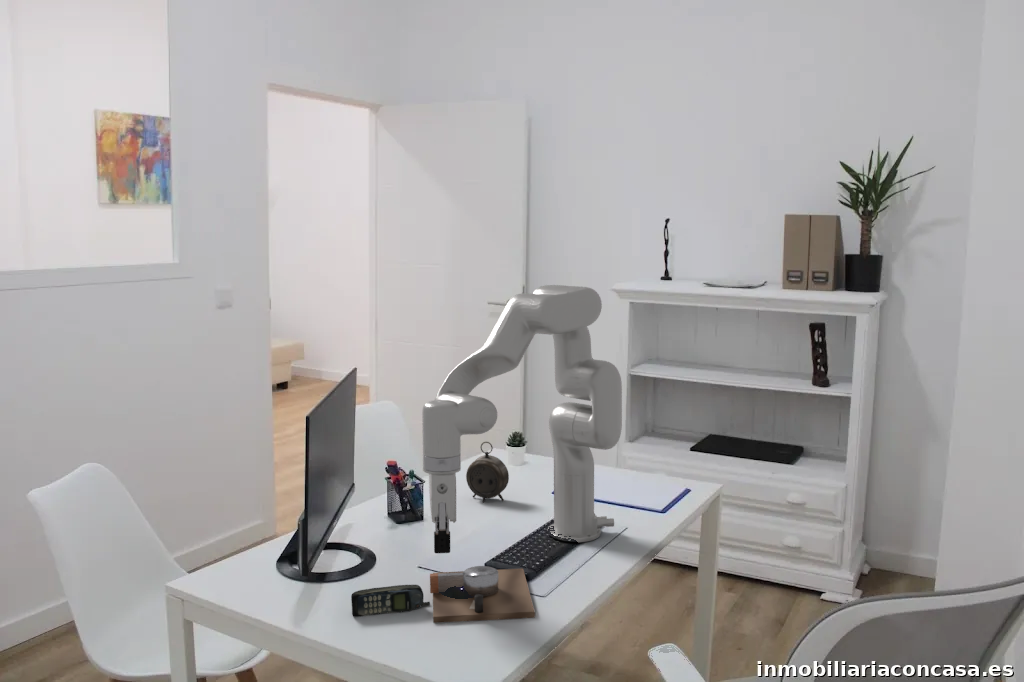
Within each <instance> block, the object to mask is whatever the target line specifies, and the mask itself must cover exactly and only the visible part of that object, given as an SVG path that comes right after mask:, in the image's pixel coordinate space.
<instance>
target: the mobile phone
mask: <svg viewBox="0 0 1024 682" xmlns="http://www.w3.org/2000/svg"><path fill="white" fill-rule="evenodd" d="M350 600H351V614H352V616H353V617H354V618H359V617H366V616H376V615H385V614H401V613H408V612H411V611H414V610H417V609H420V608H421V607H426V606H430V604H431V602H430V601H424V591H423V589H422V587H421V586H420V585H419V584H398V585H391V586H382V587H372V588H366V589H359V590H357V591H354V592H352V594H351V599H350Z"/></svg>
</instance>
